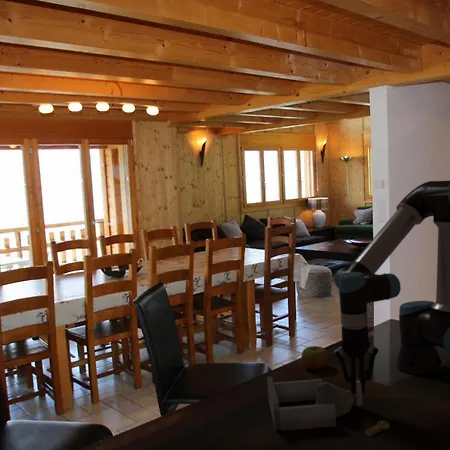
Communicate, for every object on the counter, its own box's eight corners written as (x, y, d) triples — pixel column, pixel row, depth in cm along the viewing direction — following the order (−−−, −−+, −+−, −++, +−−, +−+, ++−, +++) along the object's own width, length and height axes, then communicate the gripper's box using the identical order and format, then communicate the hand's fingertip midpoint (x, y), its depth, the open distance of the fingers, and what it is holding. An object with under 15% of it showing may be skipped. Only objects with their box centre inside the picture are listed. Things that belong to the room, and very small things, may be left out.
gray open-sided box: (322, 397, 161) (321, 372, 160) (336, 426, 142) (334, 398, 141) (268, 401, 161) (267, 376, 160) (275, 431, 142) (273, 403, 141)
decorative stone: (328, 425, 143) (347, 395, 142) (302, 400, 151) (320, 372, 150) (349, 430, 151) (368, 402, 151) (324, 406, 159) (341, 380, 159)
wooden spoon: (382, 423, 142) (382, 419, 142) (392, 427, 139) (391, 423, 139) (363, 433, 137) (363, 429, 137) (373, 438, 135) (372, 433, 135)
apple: (329, 362, 189) (328, 341, 189) (330, 373, 180) (328, 350, 179) (302, 363, 191) (301, 342, 190) (301, 373, 182) (300, 351, 181)
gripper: (372, 320, 153) (376, 396, 155) (329, 323, 153) (334, 399, 155) (380, 327, 146) (384, 407, 148) (335, 331, 145) (339, 410, 148)
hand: (358, 403), depth 151 cm, fingers closed
